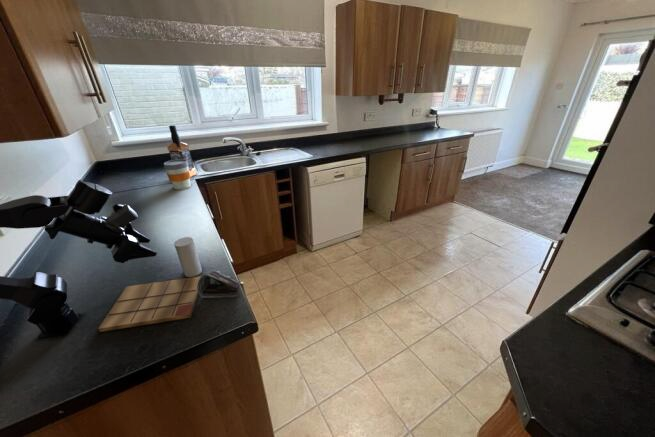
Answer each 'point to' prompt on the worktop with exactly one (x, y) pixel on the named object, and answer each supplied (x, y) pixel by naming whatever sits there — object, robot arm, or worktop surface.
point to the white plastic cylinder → (188, 256)
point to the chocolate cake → (217, 285)
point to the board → (152, 304)
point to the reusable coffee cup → (178, 173)
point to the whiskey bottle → (180, 150)
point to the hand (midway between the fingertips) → (152, 247)
